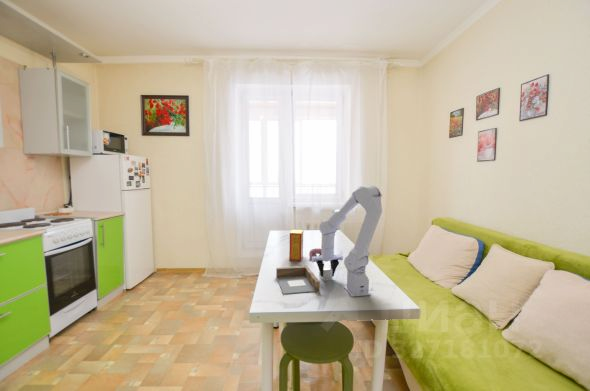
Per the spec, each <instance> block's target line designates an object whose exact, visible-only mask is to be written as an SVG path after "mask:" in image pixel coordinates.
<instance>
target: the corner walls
mask: <svg viewBox="0 0 590 391" xmlns="http://www.w3.org/2000/svg"><path fill="white" fill-rule="evenodd" d="M293 276H306V278H307V279H308V281H309V282H310V284H311V285H312V287H313V288H314V290H315V292H314V293H320V280H319V278H318V277H317V276H316V275H315V274H314V272H313V271H312V270H311V269H310V267H309V266H308V265H303V266H302V265H301V266H300V265H299V266H287V267H276V275H275V277H276V279H277V278H279V277H293Z"/></svg>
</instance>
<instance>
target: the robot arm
mask: <svg viewBox="0 0 590 391" xmlns="http://www.w3.org/2000/svg"><path fill="white" fill-rule="evenodd" d="M382 196H383V195H382V192H381V191H380V189H379V188H378V187H377V186H375V185H369V186H358V187H356V189H355V190H354V191H353V192H352V193H351V195H350V197H349V198H348V199H347V201H345V203H344V204H343V205H342V207H341V208H340V209H336V210H332V211H331V213H332V214H330V216H329V217H327V218H326V219H325V221H320V224H319V228H318V229H319V231H320V233H321V248H320V249H321V255H320V254H319V255H320V256H319V255H317V256H314V257H313V256H312V260H311V262H312V263H316V265H317V267H318V272H320V276H321V277H323V268H325V264H324V262H326V261H327V262H329V261H330V268H332V269H333V274H332V277H334V276H335V272H336V270H337V268H338V266H339V264H340V261H343V263H344V266H345V269H346V271H347V272H346V274H347V275H346V278H347V279H346V285H343V286H342V287H343V288H344V289H345V291H347V293H348V294H350V296H351V297H361V296H371V293H370V292H369V288H370V279H369V277H368V276H367V274H366V267H367V265H368V264H369V260H370V259H369V255H370V252H369V247H370V245H371V242H372V239H373V236H374V234H375V231H376V229H377V226H378V225H379V224H378V223H379V221H380V219H381V216H382V212H383V208H382ZM358 205H360V206H361V207H362V208H363V209H364V211H365V215H364V219H363V221H362V224H361V227H360V230H359V233H358V235H357V237H356V241H355V243H354V247H352V249H351V250H350V251H349V253H348V255H347V256H346V257H345V258H344V256H343V255H342V254H335V236H336V233H337V231H338V227H339V226H340V225H342V224H343V223H344V221H346V219H347V214H349V213H350V212H351V211H352V210H353V209H354V208H355V207H356V206H358ZM320 276H319V277H320Z"/></svg>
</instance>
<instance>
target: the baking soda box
mask: <svg viewBox="0 0 590 391" xmlns="http://www.w3.org/2000/svg"><path fill="white" fill-rule="evenodd" d="M303 254H304V230H303V229H291V231H290V233H289V256H288V258H289V259H288V260H289V261H293V262H301V261H302V259H303Z"/></svg>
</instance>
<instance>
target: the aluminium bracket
mask: <svg viewBox="0 0 590 391" xmlns="http://www.w3.org/2000/svg"><path fill="white" fill-rule="evenodd" d="M332 274H333V269H332V268H331V267H327V268H325V267H324V268H323V277H321V276H320V271H318V277H319V278H320V279H321V280H322V281H323V282H324V281H333V276H332Z"/></svg>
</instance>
